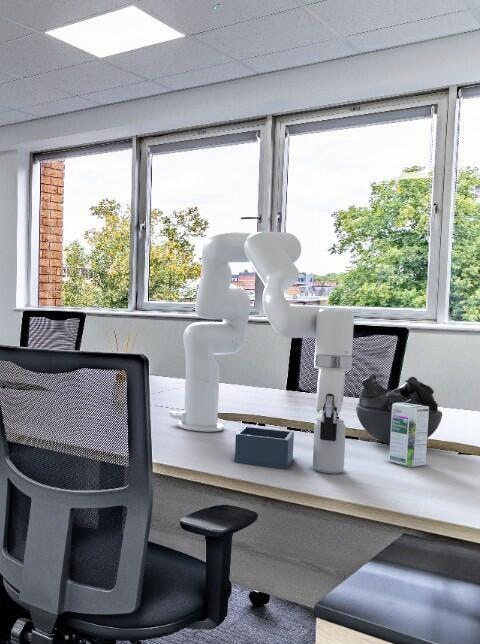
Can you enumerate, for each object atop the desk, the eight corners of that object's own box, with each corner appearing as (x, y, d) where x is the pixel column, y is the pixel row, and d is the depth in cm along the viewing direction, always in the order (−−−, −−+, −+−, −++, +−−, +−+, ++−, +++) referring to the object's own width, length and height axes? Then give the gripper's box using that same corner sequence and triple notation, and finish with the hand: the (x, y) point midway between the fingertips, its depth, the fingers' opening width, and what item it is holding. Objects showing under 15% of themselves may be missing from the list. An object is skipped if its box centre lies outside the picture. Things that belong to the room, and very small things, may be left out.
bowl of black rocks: (459, 451, 183) (463, 380, 182) (399, 455, 177) (403, 381, 176) (392, 435, 202) (396, 371, 201) (337, 438, 196) (340, 372, 195)
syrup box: (387, 461, 170) (390, 403, 169) (403, 459, 173) (406, 401, 172) (410, 467, 165) (413, 406, 164) (426, 465, 167) (430, 405, 167)
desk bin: (234, 462, 168) (235, 434, 167) (242, 452, 177) (243, 426, 177) (287, 469, 162) (288, 440, 161) (292, 458, 172) (293, 431, 171)
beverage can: (347, 475, 157) (350, 422, 156) (316, 473, 158) (319, 421, 158) (338, 468, 163) (340, 417, 163) (309, 466, 165) (311, 416, 164)
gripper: (317, 358, 169) (314, 428, 170) (311, 364, 154) (307, 441, 155) (353, 360, 165) (349, 432, 166) (350, 367, 150) (346, 445, 151)
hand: (329, 436), depth 160 cm, fingers open, 9 cm apart
